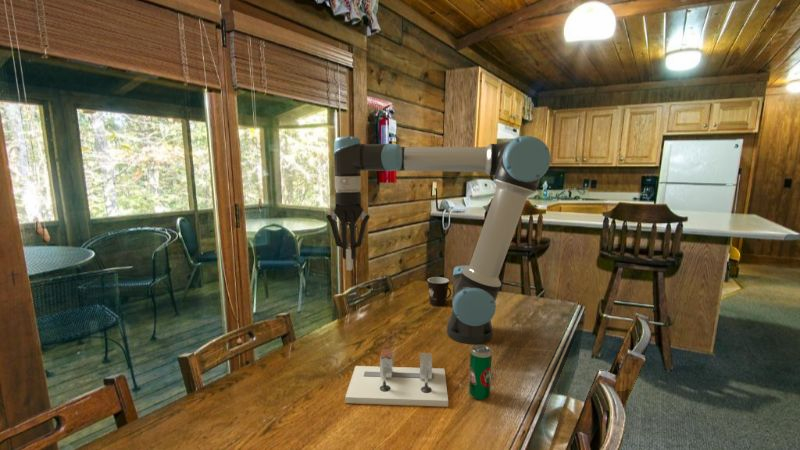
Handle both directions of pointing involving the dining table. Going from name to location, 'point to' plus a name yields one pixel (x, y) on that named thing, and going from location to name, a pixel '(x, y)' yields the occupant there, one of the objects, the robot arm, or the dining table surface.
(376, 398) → the bolt plate
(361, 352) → the dining table surface
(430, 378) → the fixed leg
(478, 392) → the soda can
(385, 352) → the sliding leg
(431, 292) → the coffee mug
